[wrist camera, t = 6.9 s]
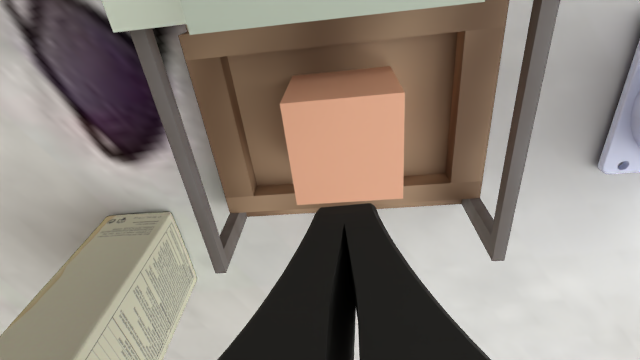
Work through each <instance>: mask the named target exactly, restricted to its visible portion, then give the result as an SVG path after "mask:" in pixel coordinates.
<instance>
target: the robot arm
mask: <svg viewBox="0 0 640 360" xmlns="http://www.w3.org/2000/svg"><path fill="white" fill-rule="evenodd" d="M623 161H624V162H623ZM621 162H623V163H622V164H621V165H620V166H618V165H619V164H620V163H621ZM598 168H599V170H601V171H602V172H603V173H605V174H621V173H636V172H640V40H639V43H638V46H637V49H636V52H635V55H634V58H633V61H632V64H631V67H630V70H629V73H628V76H627V79H626V82H625V85H624V88H623V91H622V94H621V97H620V100H619V103H618V106H617V109H616V112H615V115H614V118H613V121H612V124H611V127H610V130H609V133H608V136H607V139H606V142H605V145H604V148H603V151H602V154H601V157H600V160H599V163H598ZM356 311H357V317H358V328H359V356H360V360H491V359H490V358H489V357H488V356H487V355H486V354H485V353H484V352H483V351H482V350H481V349H480V348H479V347H478V346H477V345H476V344H475V343H474V342H473V341H472V340H471V339H470V338H469V336H468V335H467V334H466V333H465V332H464V331H463V330H462V329H461V328H460V327H459V326H458V324H457V323H456V322H455V321H454V320H453V319H452V318H451V317H450V316H449V314H448V313H447V312H446V311H445V310H444V309H443V308H442V306H441V305H440V304H439V303H438V302H437V300H436V299H435V298H434V297H433V296H432V294H431V293H430V292H429V291H428V289H427V288H426V287H425V285H424V284H423V283H422V282H421V280H420V279H419V278H418V276H417V275H416V274H415V272H414V271H413V270H412V268H411V267H410V266H409V264H408V263H407V261H406V260H405V258H404V257H403V256H402V254H401V253H400V251H399V250H398V248H397V247H396V245H395V244H394V242H393V240H392V239H391V237H390V236H389V234H388V232H387V230H386V229H385V227H384V225H383V223H382V221H381V219H380V217H379V215H378V212H377V210H376V207H375V206H374V205H373V204H371V203H365V204H354V205H343V206H332V207H321V208H319V209H318V211H317V212H316V214H315V216H314V218H313V220H312V223H311V225H310V227H309V229H308V231H307V233H306V234H305V236H304V238H303V240H302V242H301V244H300V246H299V247H298V249H297V251H296V252H295V254H294V256H293V257H292V259H291V261H290V262H289V264H288V266H287V267H286V269H285V271H284V272H283V274H282V275H281V277H280V278H279V280H278V281H277V283H276V284H275V286H274V287H273V289H272V290H271V292H270V293H269V295H268V296H267V297H266V299H265V300H264V302H263V303H262V305H261V306H260V307H259V309H258V310H257V311H256V313H255V314H254V315H253V317H252V318H251V319H250V321H249V322H248V323H247V325H246V326H245V327H244V328H243V330H242V331H241V332H240V333H239V335H238V336H237V337H236V338H235V340H234V341H233V342H232V343H231V345H230V346H229V347H228V348H227V349H226V350H225V352H224V353H223V354H222V355H221V356H220V357H219V358H218V360H354V340H355V313H356Z"/></svg>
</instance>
